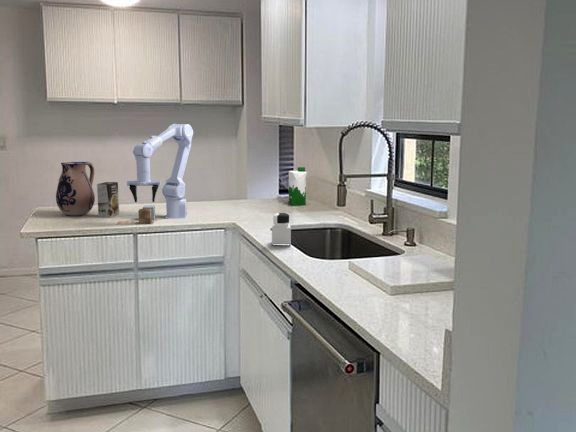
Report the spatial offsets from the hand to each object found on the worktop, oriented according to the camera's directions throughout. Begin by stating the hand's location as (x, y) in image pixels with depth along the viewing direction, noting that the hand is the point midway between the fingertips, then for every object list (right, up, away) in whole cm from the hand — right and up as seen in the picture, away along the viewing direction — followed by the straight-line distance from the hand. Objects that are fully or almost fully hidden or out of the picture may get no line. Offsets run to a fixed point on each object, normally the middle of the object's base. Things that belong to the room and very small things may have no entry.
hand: (144, 201), depth 263 cm
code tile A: (-9, -10, +2) cm, 13 cm away
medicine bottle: (+61, -17, -35) cm, 73 cm away
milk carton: (+69, 0, +55) cm, 88 cm away
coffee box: (-21, -7, +18) cm, 28 cm away
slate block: (0, -8, +10) cm, 13 cm away
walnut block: (0, -9, +2) cm, 10 cm away
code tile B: (0, -8, +10) cm, 13 cm away
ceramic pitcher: (-38, -5, +24) cm, 45 cm away
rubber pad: (0, -10, +2) cm, 10 cm away
